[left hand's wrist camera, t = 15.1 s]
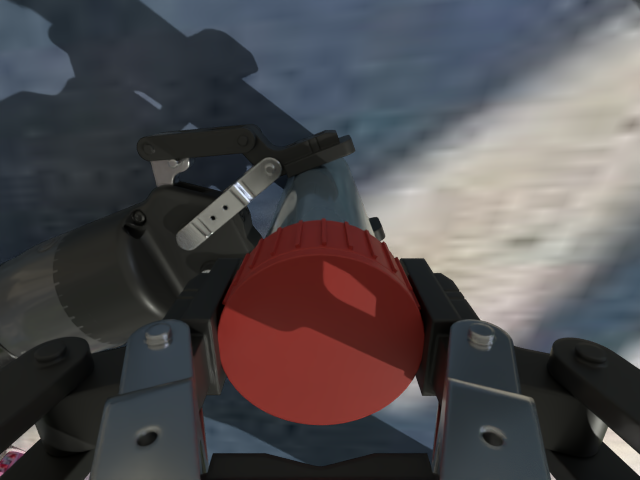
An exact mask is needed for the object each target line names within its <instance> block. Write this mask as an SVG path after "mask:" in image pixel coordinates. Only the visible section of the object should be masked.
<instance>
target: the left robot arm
mask: <svg viewBox="0 0 640 480" xmlns="http://www.w3.org/2000/svg"><path fill="white" fill-rule="evenodd" d="M242 262H243V261H242V259H241V258H218V259H217V260H216V262H215V264H214V265H213V267H212V269H211V270H210V272H209V273H200V274H199V275H197V276H196V277H194V278H193V279H191V280H189V282H188V283H187V285H186V286H185V288H184V289H183V291H182V292H181V293H180V295H179V296H178V299H176V301H175V302H174V303H173V305H172V306H171V308H170V309H169V311H168V312H167V314H166V315H165V316H164V318H163V319H162V320H159V321H155V322H152V323H149V324H146V325H144V326H142V327H140V328H139V329H137V330H136V331H135V332H134V333H132V334H131V336H130V337H129V339H128V341H127V345H126V346H125V347H121V348H116V349H111V350H106V351H101V352H96V353H91V350H90V347H89V344H88V342H87V341H86V340H85V339H83V338H80V337H62V338H57V339H53V340H50V341H47V342H44V343H42V344H40V345H37V346H35V347H34V348H32V349H30V350H28V351H27V352H25V353H24V354H22V355H21V356H19V357H18V358H16V359H15V360H14V361H12V362H11V363H9V364H8V365H6V366H5V367H3V368H2V369H0V454H1V453H2V452H3V451H5V450H6V449H7V448H8V447H9V446H10V445H11V444H13V443H14V442H15V441H16V440H17V439H18V438H19V437H20V436H22V435H23V434H24V433H25V432H26V431H27V430H28V429H30V428H31V427H32V426H33V425H34V424H35V425H36V428H37V430H38V433H39V435H40V438H41V439H40V440H39V441H37V442H36V443H35V444H34V445H33V446H32V447H31V448H30V449H29V450H28V451H27V452H26V453H25V454H24V455H23V456H21V457H20V458H19V459H18V460H17V461H16V462H15V463H14V464H13V465H12V466H11V467H10V468H9V469H8V470H7V471H5V472H4V473H3V474H2V475H1V476H0V480H84V479H85V478H86V476H87V475H88V474H89V473H90V477H89V480H551V477H550V473H551V474H552V475H553V476H554V478H555V479H556V480H640V476H639V475H638V474H637V473H636V472H635V471H633V470H632V469H631V468H630V467H629V466H628V465H627V464H626V463H625V462H624V461H623V460H622V459H621V458H620V457H619V456H617V455H616V454H615V453H614V452H613V451H612V450H611V449H610V448H609V447H608V446H607V445H606V444H605V443H604V442H603V438H604V436H605V433H606V431H607V428H608V427H609V428H610V429H612V430H613V431H614V432H615V433H616V434H617V435H618V436H620V437H621V438H622V439H623V440H624V441H625V442H626V443H627V444H629V445H630V446H631V447H632V448H633V449H634V450H635V451H637V452H638V453H639V454H640V369H638V368H637V367H635V366H634V365H632V364H631V363H629V362H628V361H627V360H625V359H624V358H622V357H621V356H619V355H618V354H616V353H615V352H613V351H611V350H610V349H608V348H606V347H604V346H602V345H600V344H597V343H594V342H591V341H588V340H584V339H579V338H561V339H558V340H556V341H555V342H554V343H553V346H552V349H551V352H550V354H549V353H544V352H539V351H534V350H529V349H524V348H520V347H516V346H514V345H513V341H512V339H511V337H510V336H509V334H508V333H506V332H505V331H504V330H503V329H501V328H500V327H498V326H496V325H494V324H491V323H488V322H485V321H481V320H480V319H479V318H478V316H477V315H476V313H475V312H474V310H473V309H472V308H471V306H470V305H469V303H468V302H467V300H466V299H464V296H463V295H462V293H461V292H459V289H458V288H457V286H456V285H455V283H454V282H453V281H452V280H451V279H449V278H448V277H446V276H444V275H443V274H441V273H433V272H432V270H431V269H430V267H429V265H428V264H427V262H426V261H425V259H424V258H401V259H400V263H401V265H402V268H403V270H404V272H405V274H406V276H407V278H408V280H409V282H410V285H411V287H412V290H413V292H414V294H415V296H416V298H417V300H418V303H419V305H420V307H421V310H419V312H420V314H421V317H422V321H423V324H424V332H425V338H424V346H423V354H422V361H421V364H420V366H419V369H418V371H417V373H416V378H417V381H418V384H419V387H420V390H421V393H422V396H437V399H438V402H439V403H438V409H437V415H436V425H435V434H434V444H433V453H432V463H431V465H430V462H429V458H428V455H427V453H374V454H370V455H366V456H362V457H358V458H354V459H350V460H346V461H343V462H339V463H335V464H331V465H327V466H313V465H309V464H305V463H301V462H297V461H294V460H290V459H286V458H282V457H278V456H274V455H270V454H266V453H213V455H212V458H211V462H210V465H209V463H208V453H207V444H206V434H205V425H204V415H203V409H202V405H203V403H204V400H205V397H206V395H220V394H221V391H222V388H223V385H224V382H225V379H226V376H227V375H226V374H225V372H224V370H223V367H222V365H221V359H220V351H219V343H218V334H217V328H218V323H219V319H220V316H221V313H222V311H223V309H224V306H225V305H223V304H222V303H223V300H224V298H225V296H226V294H227V292H228V290H229V287H230V285H231V283H232V281H233V279H234V277H235V275H236V272H237V270H239V268H240V266H241V264H242Z"/></svg>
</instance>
